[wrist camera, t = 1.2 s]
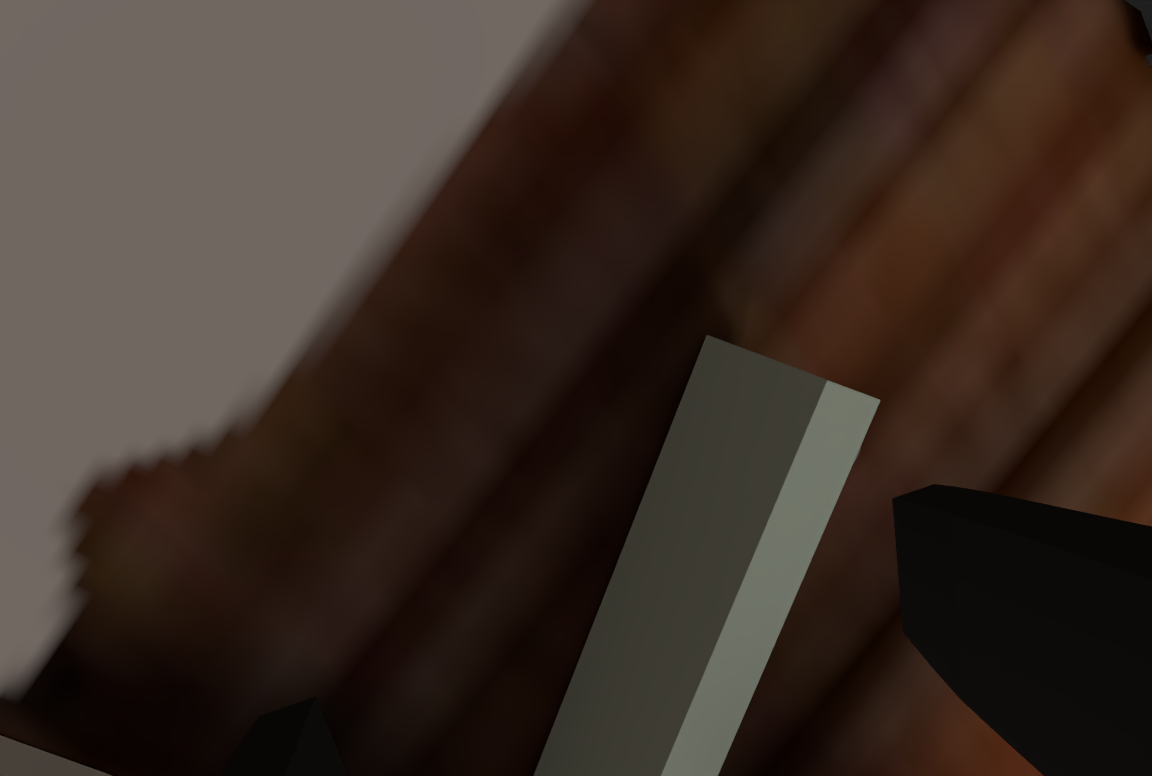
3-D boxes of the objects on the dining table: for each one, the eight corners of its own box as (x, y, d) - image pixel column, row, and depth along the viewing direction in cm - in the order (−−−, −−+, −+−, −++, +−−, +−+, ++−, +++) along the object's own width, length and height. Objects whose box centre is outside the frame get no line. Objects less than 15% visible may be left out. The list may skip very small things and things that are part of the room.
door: (554, 914, 21) (603, 1137, 16) (481, 907, 20) (508, 1137, 15) (780, 362, 18) (923, 415, 13) (706, 334, 18) (827, 380, 13)
